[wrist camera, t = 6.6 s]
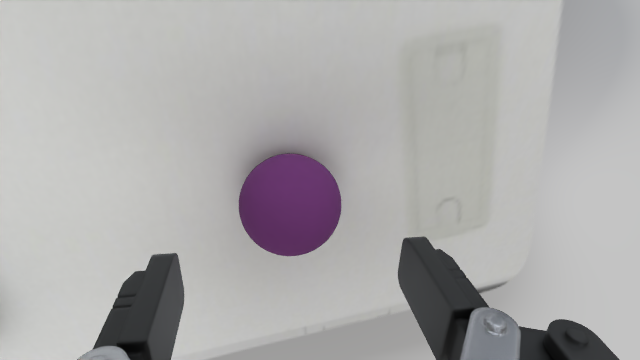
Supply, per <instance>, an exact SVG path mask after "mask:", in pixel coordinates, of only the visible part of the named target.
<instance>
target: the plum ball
mask: <svg viewBox="0 0 640 360" xmlns="http://www.w3.org/2000/svg"><path fill="white" fill-rule="evenodd" d="M239 213H240V218H241V221H242V224H243V226H244V228H245V230H246V232H247V233H248V235H249V236H250V238H251V239H252V240H253V241H254V242H255V243H256V244H258V245H259V246H260V247H261V248H263V249H265V250H267V251H269V252H271V253H274V254H277V255H282V256H297V255H302V254H306V253H309V252H311V251H313V250H315V249H317V248H318V247H320V246H321V245H322V244H323V243H325V242H326V241H327V240H328V239H329V237H330V236H331V235H332V233H333V232H334V230H335V228H336V226H337V224H338V221H339V218H340V214H341V196H340V191H339V188H338V185H337V183H336V181H335V179H334V178H333V176H332V175H331V173H330V172H329V171H328V170H327V169H326V168H325V167H324V166H323V165H322V164H320V163H319V162H317V161H316V160H314V159H312V158H310V157H307V156H304V155H299V154H281V155H277V156H274V157H271V158H269V159H267V160H265V161H263V162H262V163H260V164H259V165H258V166H256V167H255V168H254V169H253V170H252V171H251V173H250V174H249V175H248V177H247V178H246V180H245V182H244V184H243V186H242V189H241V192H240V197H239Z"/></svg>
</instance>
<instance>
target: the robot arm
mask: <svg viewBox="0 0 640 360" xmlns="http://www.w3.org/2000/svg"><path fill="white" fill-rule="evenodd" d="M398 280H399V284H400V287H401V289H402V291H403V293H404V295H405V298H406V300H407V302H408V304H409V306H410V308H411V310H412V312H413V314H414V315H415V318H416V320H417V322H418V324H419V326H420V328H421V330H422V332H423V334H424V336H425V337H426V340H427V342H428V344H429V346H430V348H431V350H432V352H433V354H434V356H435V358H436V360H619V359H618V358H617V356H616V355H615V354H613V352H612V351H611V350H610V349H609V348H608V347H607V346H606V345H605V344H604V343H603V341H602V340H601V339H600V338H599V337H598V336H597V335H596V334H595V333H593V332H592V331H591V330H589V329H588V328H586V327H585V326H583V325H581V324H578V323H576V322H573V321H569V320H562V319H561V320H560V319H559V320H555V321H553V322H551V323H550V324H549V327H548V329H547V331H543V330H537V329H531V328H525V327H520V326H518V325H517V323H516V322H515V321H514V320H513V319H512V318H511V317H510V316H508V315H507V314H505V313H504V312H502V311H499V310H497V309H494V308H490V307H489V306H488V305H487V303H486V302H485V301H484V299H483V298H482V297H481V296H480V294H479V293H478V291H477V290H476V289H475V287H474V286H473V285H472V283H471V282H470V281H469V279H468V278H466V275H465V274H464V273H463V271H462V270H460V267H459V266H458V265H457V263H456V262H455V261H454V259H453V258H452V257H450V256H449V255H448V254H446V253H445V252H443V251H442V250H441V249H437V250H435V249H434V248H433V246H432V245H431V243H430V242H429V240H428V239H427V238H426V237H412V238H405V239H404V240H403V243H402V249H401V255H400V262H399V268H398ZM183 305H184V287H183V281H182V275H181V270H180V264H179V259H178V255H177V254H176V253H172V254H157V255H152V257H151V259H150V261H149V264H148V266H147V269H146V271H135V272H134V273H133V274H132V275H131V276H130V277H129V278H128V279H127V280H126V281H125V282H124V283H123V285H122V287H121V289H120V292H119V294H118V298H116V300H115V302H114V305H113V309H111V311H110V313H109V315H108V317H107V320H106V322H105V324H104V326H103V328H102V330H101V333H100V335H99V337H98V339H97V341H96V343H95V345H94V348H93V350H91V351H89V352H87V353H85V354H84V355H82V356H81V357H80V358H78V359H77V360H171V356H172V352H173V348H174V344H175V339H176V335H177V331H178V327H179V322H180V318H181V314H182V310H183Z"/></svg>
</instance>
